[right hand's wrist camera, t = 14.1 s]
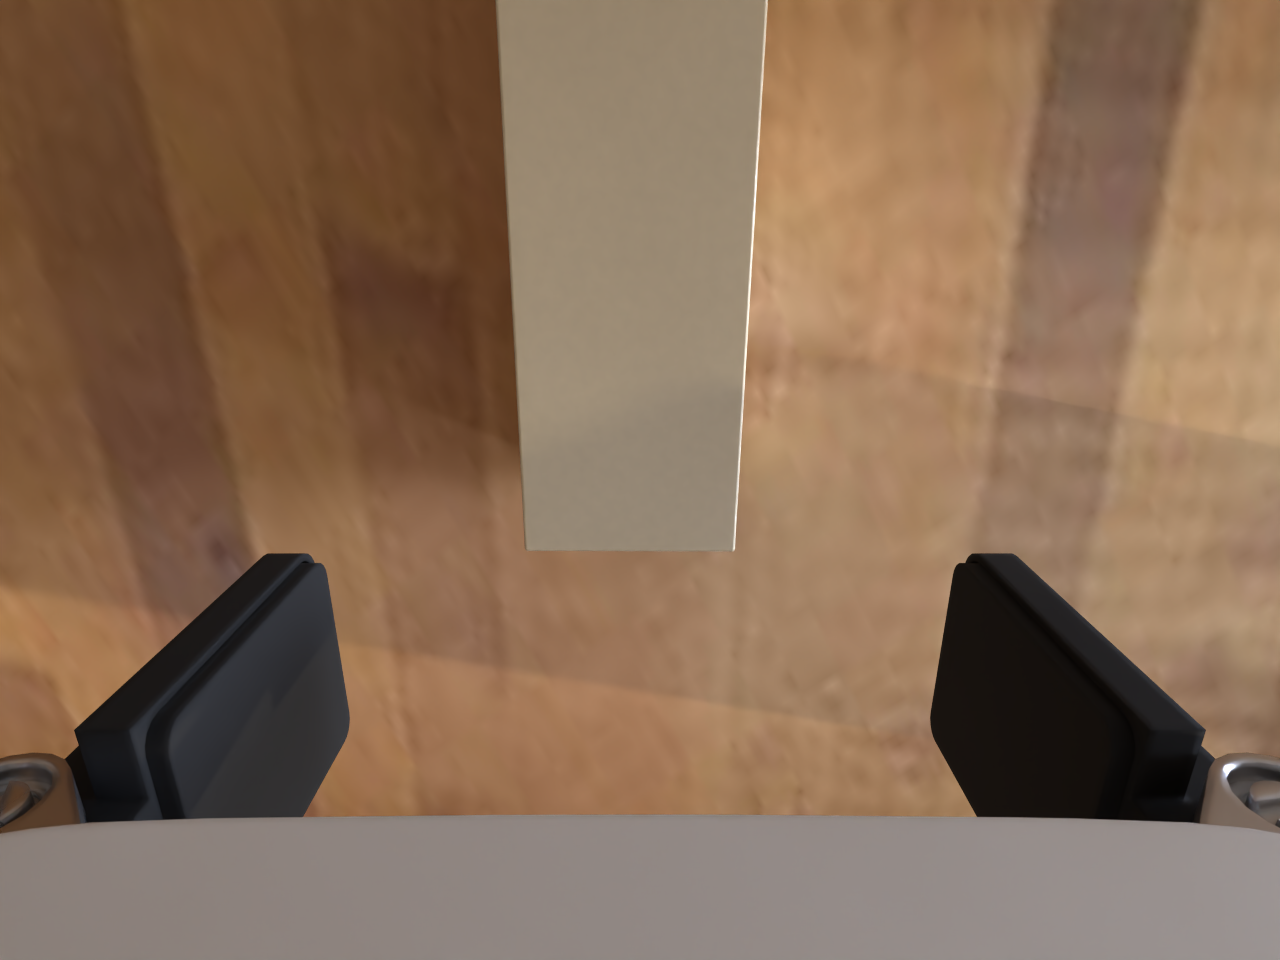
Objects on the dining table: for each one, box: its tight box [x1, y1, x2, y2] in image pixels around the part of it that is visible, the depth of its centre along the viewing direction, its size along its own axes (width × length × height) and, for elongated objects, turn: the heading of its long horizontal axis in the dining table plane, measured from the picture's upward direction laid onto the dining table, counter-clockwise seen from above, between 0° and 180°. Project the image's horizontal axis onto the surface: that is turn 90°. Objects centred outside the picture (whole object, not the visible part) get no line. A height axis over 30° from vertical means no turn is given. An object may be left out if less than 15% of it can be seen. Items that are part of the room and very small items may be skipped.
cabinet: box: [495, 0, 768, 551], centre depth 22 cm, size 21×6×8 cm, turn 179°
